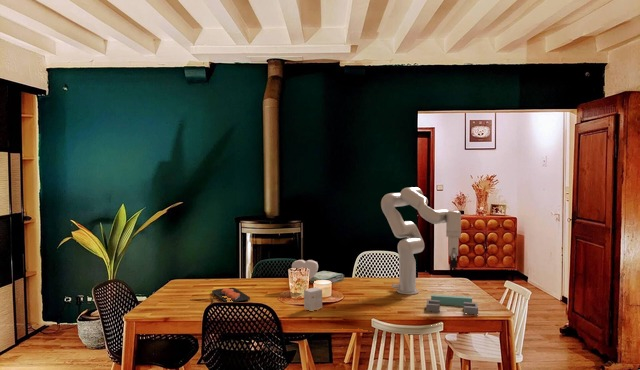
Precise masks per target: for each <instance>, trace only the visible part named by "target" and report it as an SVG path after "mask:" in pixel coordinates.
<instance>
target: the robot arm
mask: <svg viewBox="0 0 640 370" xmlns="http://www.w3.org/2000/svg"><path fill="white" fill-rule="evenodd" d="M428 204H429V200H428V198H427V197H426V196H424V193H423V191H422V189H421V188H419V187H417V186H415V187H413V186H411V187H404V188H402V189H401V191H400V192H390V193H386V194H384V196H383V197H382V198H381V201H380V207H381V210H382V213H383V214H384V216H385V218H386V219H387V222H388V224H389V226H390V228H391V231H392V233H393V235H394V237H395V238H397V239H401V240H399V242H398V243H397V253H398V263H399V264H398V266H399V269H398V270H399V271H398V272H399V275H398V276H399V282H398V283H397V284H395V283H391V288H393V289H396V292H397V293H398V294H401V295H409V296H410V295H416V294H418V293H419V289H418V288H417V287H416V286H417V285H416V284H417V281H416V279H417V274H416V273H417V271H416V270H417V269H416V267H417V266H416V264H417V263H416V259H415V256H414V254H415V255H416V254H419V253H422V252H423V251H424V250H425V242H424V239H423V237H422V235H421V233H420V230H419V229H418V226H417V224H415V223H414V222H413V221H411V220H405V221H404V219H403V216H402V214H401V212H399V211H398V209H396V208H397V207H405V206H411V207H413V208H414V209H415V210H417V212H418V214H419V216H420V217H421V218H423V220H425V221H427V222H429V223H431V224H433V225H439V224H446V226H445V227H446V228H445V230H446V231H445V233H446V235H445V236H446V237H447V255H448V256H449V264H450V268H451V269H452V268H453V269H457V268H458V260H457V259H458V258H457V256H459V241H460V239H459V238H461V237H462V213H461V211H459V210H450V209H445V208H443V209H433V208H432V207H430V206H428Z"/></svg>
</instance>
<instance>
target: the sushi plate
mask: <svg viewBox="0 0 640 370" xmlns="http://www.w3.org/2000/svg"><path fill="white" fill-rule="evenodd" d="M211 292H212V294H213V295H212V299H211V298H198V299H195V298H194V299H191V301H208V300H212V301H211V304H212V303H213V304H214V300H222V301H223V302H225V303H227V300H226V299H227V298H224V297H222V296H227V297H228V298H231V300H232V301H233V303H238V302H239V301H240V302H243V301H248V300H251V297H250V296H249V295H247V294H245V293H244V292H242V291H241V290H239V289H238V288H236V287H225V288H218V289H213V290H212V291H211ZM215 296H216V298H215ZM231 300H230V301H231Z"/></svg>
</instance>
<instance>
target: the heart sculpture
mask: <svg viewBox="0 0 640 370" xmlns="http://www.w3.org/2000/svg"><path fill="white" fill-rule="evenodd" d="M301 267H304V268H308V269H310V279H311V278H312V277H313V276H314V275H315V274H316V272H318V270H319V264H318V261H315V260H313V259H308V260H304V259H298V260H295V261H293V262H292V264H291V269H292V268H301Z"/></svg>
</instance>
